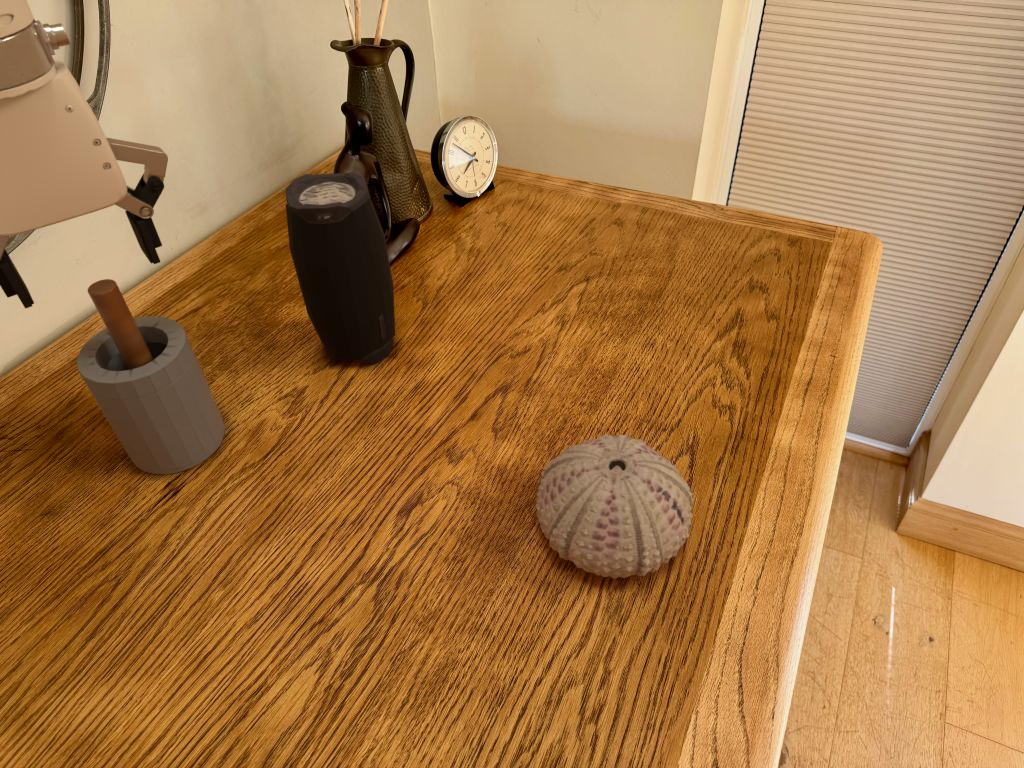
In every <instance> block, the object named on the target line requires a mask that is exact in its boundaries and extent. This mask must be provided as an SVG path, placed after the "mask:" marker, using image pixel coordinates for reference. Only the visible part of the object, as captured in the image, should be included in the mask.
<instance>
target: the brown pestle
mask: <svg viewBox="0 0 1024 768" xmlns="http://www.w3.org/2000/svg"><path fill="white" fill-rule="evenodd" d="M87 294H88V296H89V297H90V299H91V301H92V303H93V305H94V307H95V308H96V310H97V312H98V315H99V316H100V318H101V320H102V322H103V324H104V326H105V327H106V328H107V329H108V331H109V333H110V335H111V337H112V339H113V341H114V343H115V344H116V346H117V348H118V350H119V352H120V354H121V356H122V358H123V360H124V362H125V363H126V365H127V367H128V369H129V370H132V369H135V368H138V367H141V366H144V365H146V364H148V363H150V362H151V361H153V360H154V359H153V357H152V355H151V353H150V351H149V349H148V347H147V345H146V343H145V341H144V339H143V337H142V335H141V333H140V331H139V328H138V326H137V324H136V322H135V320H134V318H135V317H134V316H133V314H132V312H131V310H130V308H129V306H128V304H127V302H126V300H125V298H124V296H123V294H122V291H121V290H120V287H119V285H118V283H117V282H116V281H115V280H114V279H110V278H108V279H107V278H106V279H100V280H96V281H95V282H93V283H92V284H90V285H89V287H88V288H87Z"/></svg>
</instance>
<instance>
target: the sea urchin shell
mask: <svg viewBox="0 0 1024 768" xmlns="http://www.w3.org/2000/svg"><path fill="white" fill-rule="evenodd" d="M543 469H544V470H543V471H541V472H540V474H541V479H540V484H539V485H538V488H537V489H538V492H537V493H536V494H535V496H536V497H537V498H536V499H535V503H536V504H535V506H534V507H535V509H536V510H537V512H536V517H537V518H538V519H537V520H538V522H539V524H540V525H539V527H540V529H541V533H543V534H544V537H545V538H546V539H548V540H549V548H552V551H555V552H557V553H558V555H559V559H563V560H566V561H571V562H572V563H573V564H574V565H575V567H576V568H577V569H582V570H583V571H584V572H586V573H593V574H594V575H596V576H598V577H599V576H602V577H603V578H607V577H610V578H612V579H613V580H616V579H618V578H622V579H625V578H628V577H630V576H638V577H645V576H646V575H647V574H648V573H651V574H654V573H655V572H656V571H658V570H659V568H660V567H661V565H662V564H668V563H669V561H670V559H671V558H674V557H677V555H678V553H679V550H680V548H682V547H683V546H685V545H684V544H685V543H686V540H687V539H688V538H689V537H690V535H689V532H690V531H691V530H692V529H691V525H692V518H693V514H692V512H691V511H692V509H693V504H694V503H695V501H696V500H695V499H694V498H693V495H694V494H693V492H691V491H690V490H691V487H690V485H689V483H688V482H687V481H685V478H684V477H683V476H681V474H680V471H679V469H677V468H676V465H675V464H672V462H671V460H669V459H667V458H665V457H664V456H663V455H661V453H659V452H658V451H656V450H655V449H653V448H652V447H651V446H649V445H648V444H647V443H645V442H644V440H643V438H642V439H640V438H637V439H635V438H633V437H631V436H629V435H625V434H614V435H610V434H607V433H605V434H602V435H601V436H599V437H596V438H592V439H588V440H586V441H583V442H580V443H578V444H573V445H569V446H568V448H564V450H563V452H561V454H559V455H558V456H556V457H554V458H552V459H551V460H550V461H548V462H547V463H546V466H545V467H544V468H543Z"/></svg>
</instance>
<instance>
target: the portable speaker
mask: <svg viewBox="0 0 1024 768" xmlns="http://www.w3.org/2000/svg"><path fill="white" fill-rule="evenodd" d="M369 190H370V189H369V184H368V183H367V181H366V179H365V177H364V176H363V175H361V174H358V173H357V172H355V171H349V172H341V173H338V172H337V173H336V172H335V173H320V174H318V173H317V174H311V173H309V174H308V173H305V174H303V175H301V176H298V177H296V178H294V179H292V180H291V182H290V183H289V184H288V185H287V187H285V199H286V203H285V212H286V222H287V224H286V225H287V233H288V235H287V236H288V245H289V251H290V256H291V259H292V262H293V266H294V270H295V273H296V277H297V281H298V283H299V288H300V291H301V295H302V299H303V303H304V306H305V309H306V312H307V315H308V318H309V321H310V322H311V324H312V326H313V328H314V330H315V332H316V334H317V336H318V338H319V341H320V343H321V344H322V345H323V348H324V351H325V354H326V355H327V356H328V358H329V359H330V360H331V362H333V363H337V362H340V361H346V362H347V361H351V362H362V363H364V364H365V365H367V366H369V365H376V364H378V363H380V362H381V361H382V360H384V359H385V358H387V357H388V356H389V355H390V353H391V352H392V350H393V348H394V337H395V336H396V321H395V320H396V318H395V317H396V316H395V296H394V295H395V293H394V280H393V275H392V270H391V264H390V257H389V253H388V246H387V242H386V235H385V232H384V229H383V227H382V224H381V221H380V219H379V217H378V214H377V211H376V209H375V206H374V204H373V200H372V199H371V195H370V191H369Z"/></svg>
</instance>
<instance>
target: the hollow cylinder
mask: <svg viewBox="0 0 1024 768" xmlns="http://www.w3.org/2000/svg"><path fill="white" fill-rule="evenodd" d="M133 318H134V320H135V322H136V324H137V326H138V328H139V331H140V333H141V335H142V337H143V339H144V341H145V343H146V345H147V347H148V349H149V351H150V353H151V355H152V357H153V359H154V360H153V361H151V362H150V363H148V364H146V365H144V366H141V367H138V368H135V369H132V370H129V369H128V367H127V365H126V363H125V362H124V360H123V358H122V356H121V354H120V352H119V350H118V348H117V346H116V344H115V343H114V341H113V339H112V337H111V335H110V333H109V331H108V329H107V327H106V328H104V329H102V330H100V331H99V332H98V333H96V334H95V335H93V336H92V337H90V338H89V339H88V340H87V341H86V343H85V344H84V345H83V346H82V347H81V348H80V350H79V353H78V355H77V358H76V368H77V371H78V373H79V375H80V376H81V378H82V380H83V382H84V384H85V385H86V387H87V389H88V390H89V391H90V393H91V395H92V396H93V398H94V400H95V402H96V403H97V405H98V407H99V409H100V410H101V412H102V414H103V415H104V417H105V418H106V420H107V422H108V423H109V425H110V427H111V429H112V430H113V432H114V434H115V435H116V437H117V438H118V440H119V443H120V444H121V446H122V447H123V449H124V450H125V452H126V454H127V456H128V457H129V459H130V460H131V461H132V463H133V464H134V465H135V467H137V468H138V469H139V470H141V471H143V472H145V473H148V474H153V475H171V474H176V473H177V474H178V473H180V472H181V473H182V472H184V471H187V470H189V469H192V468H194V467H197V466H198V465H200V464H201V463H203V462H205V461H206V460H208V458H210V457H211V456H212V455H213V454H214V453H215V452H216V451H217V450H218V448H219V447H220V446H221V444H222V442H223V440H224V437H225V433H226V424H225V421H224V419H223V417H222V414H221V412H220V409H219V407H218V404H217V402H216V400H215V398H214V395H213V393H212V391H211V388H210V386H209V384H208V381H207V379H206V376H205V375H204V372H203V370H202V368H201V365H200V363H199V361H198V358H197V356H196V354H195V351H194V349H193V347H192V344H191V343H190V340H189V338H188V336H187V333H186V331H185V328H184V327H183V326H182V325H180V324H179V322H177V320H174V319H171V318H168V317H165V316H156V315H155V316H154V315H150V316H140V317H133Z"/></svg>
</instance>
